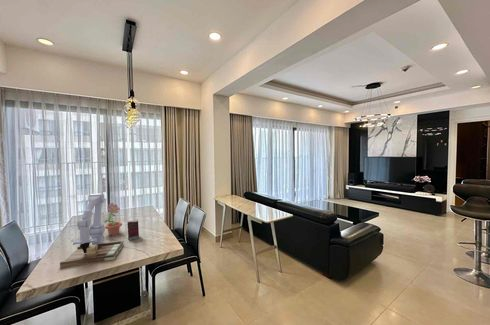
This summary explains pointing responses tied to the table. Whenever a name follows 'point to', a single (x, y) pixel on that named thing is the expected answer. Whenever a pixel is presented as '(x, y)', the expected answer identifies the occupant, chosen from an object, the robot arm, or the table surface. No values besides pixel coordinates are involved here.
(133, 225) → the supplement box
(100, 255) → the trap box
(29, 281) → the table surface
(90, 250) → the block
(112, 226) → the decorative flower
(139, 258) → the table surface
